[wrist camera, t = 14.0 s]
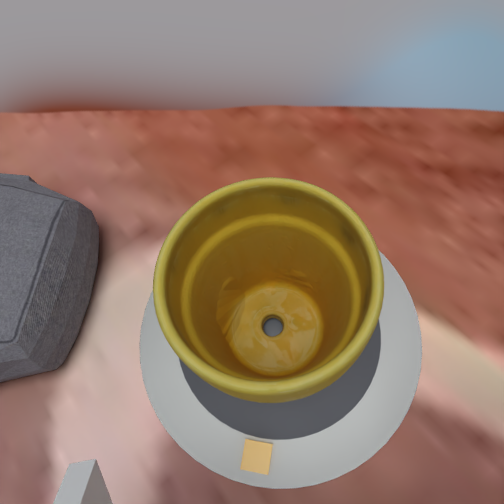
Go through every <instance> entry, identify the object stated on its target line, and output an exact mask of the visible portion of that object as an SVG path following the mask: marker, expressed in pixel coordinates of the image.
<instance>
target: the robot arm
mask: <svg viewBox="0 0 504 504" xmlns="http://www.w3.org/2000/svg"><path fill="white" fill-rule="evenodd" d="M53 504H113V503H112V501H111V498H110V495H109V492H108V490H107V487H106V484H105V482H104V479H103V476H102V474H101V471H100V468H99V466H98V463H97V460H96V459H93V460H88V461H83V462H78V463H73V464H69V467H68V469H67V472H66V474H65V476H64V479H63V481H62V484H61V486H60V488H59V491H58V493H57V496H56V498H55V500H54V503H53Z"/></svg>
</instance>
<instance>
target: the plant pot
mask: <svg viewBox="0 0 504 504" xmlns="http://www.w3.org/2000/svg"><path fill="white" fill-rule="evenodd" d="M153 298H154V306H155V312H156V316H157V319H158V322H159V325H160V328H161V330H162V332H163V334H164V336H165V338H166V340H167V341H168V343H169V345H170V346H171V348H172V349H173V351H174V352H175V353H176V354H177V356H178V357H179V358H180V359H181V360H182V361H183V362H184V363H185V365H187V366H188V367H189V368H190V369H191V370H192V371H193V372H194V373H195V374H196V375H198V376H199V377H200V378H201V379H203V380H204V381H205V382H207V383H208V384H210V385H211V386H213V387H215V388H217V389H218V390H220V391H222V392H224V393H226V394H229V395H231V396H233V397H236V398H240V399H243V400H247V401H253V402H259V403H282V402H288V401H293V400H297V399H301V398H305V397H307V396H310V395H312V394H315V393H317V392H319V391H321V390H322V389H324V388H326V387H327V386H329V385H331V384H332V383H333V382H335V381H336V380H337V379H339V378H340V377H341V376H342V375H343V374H344V373H345V372H346V371H347V370H348V369H349V368H350V367H351V366H352V365H353V364H354V362H355V361H356V360H357V359H358V357H359V356H360V354H361V353H362V352H363V350H364V348H365V347H366V345H367V343H368V342H369V340H370V338H371V336H372V334H373V332H374V330H375V327H376V325H377V322H378V320H379V316H380V313H381V309H382V304H383V298H384V272H383V266H382V262H381V257H380V254H379V251H378V248H377V245H376V243H375V241H374V239H373V237H372V235H371V233H370V231H369V230H368V228H367V227H366V225H365V224H364V222H363V221H362V220H361V219H360V217H359V216H358V215H357V214H356V213H355V212H354V211H353V210H352V209H351V208H350V207H349V206H348V205H347V204H345V203H344V202H343V201H342V200H341V199H339V198H338V197H336V196H335V195H333V194H331V193H330V192H328V191H326V190H324V189H322V188H320V187H318V186H315V185H312V184H309V183H306V182H302V181H298V180H293V179H287V178H256V179H250V180H244V181H240V182H237V183H233V184H230V185H228V186H225V187H223V188H220V189H218V190H216V191H214V192H212V193H210V194H209V195H207V196H205V197H204V198H202V199H201V200H199V201H198V202H197V203H195V204H194V205H193V206H192V207H191V208H190V209H189V210H188V211H187V212H185V213H184V214H183V216H182V217H181V218H180V219H179V220H178V221H177V223H176V224H175V225H174V226H173V228H172V229H171V231H170V232H169V234H168V236H167V238H166V239H165V241H164V243H163V246H162V248H161V250H160V253H159V256H158V259H157V262H156V266H155V272H154V280H153ZM269 318H276V319H278V320H280V321H281V323H282V325H283V329H282V332H281V333H280V334H278V335H276V336H268V335H266V334H265V332H264V330H263V326H264V323H265V321H266V320H267V319H269Z"/></svg>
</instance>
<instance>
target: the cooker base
mask: <svg viewBox="0 0 504 504" xmlns="http://www.w3.org/2000/svg"><path fill="white" fill-rule="evenodd" d="M378 251H379V250H378ZM379 254H380V257H381V262H382V266H383V272H384V298H383V304H382V309H381V313H380V316H379V320H378V322H377V325H376V327H375V330H374V332H373V334H372V336H371V338H370V340H369V342H368V343H367V345H366V347H365V348H364V350H363V352H362V353H361V354H360V356H359V357H358V359H357V360H356V361H355V362H354V364H353V365H352V366H351V367H350V368H349V369H348V370H347V371H346V372H345V373H344V374H343V375H342V376H341V377H340V378H339V379H337V380H336V381H335V382H333V383H332V384H331V385H329V386H327V387H326V388H324V389H322V390H321V391H319V392H317V393H315V394H312V395H310V396H307V397H305V398H301V399H297V400H293V401H288V402H282V403H259V402H253V401H247V400H243V399H240V398H236V397H233V396H231V395H229V394H226V393H224V392H222V391H220V390H218V389H217V388H215V387H213V386H211V385H210V384H208V383H207V382H205V381H204V380H203V379H201V378H200V377H199V376H198V375H196V374H195V373H194V372H193V371H192V370H191V369H190V368H189V367H188V366H187V365H185V363H184V362H183V361H182V360H181V359H180V358H179V357H178V356H177V354H176V353H175V352H174V351H173V349H172V348H171V346H170V345H169V343H168V341H167V340H166V338H165V336H164V334H163V332H162V330H161V328H160V325H159V322H158V319H157V316H156V312H155V306H154V298H153V291H152V293H151V295H150V298H149V301H148V303H147V306H146V309H145V313H144V317H143V322H142V326H141V335H140V364H141V370H142V376H143V381H144V384H145V388H146V391H147V394H148V397H149V400H150V402H151V404H152V406H153V408H154V410H155V413H156V415H157V417H158V418H159V420H160V421H161V423H162V424H163V426H164V427H165V429H166V430H167V432H168V433H169V434H170V435H171V437H172V438H173V439H174V440H175V441H176V442H177V444H178V445H179V446H180V447H181V448H182V449H183V450H185V451H186V452H187V453H188V454H189V455H190V456H191V457H193V458H194V459H195V460H196V461H198V462H199V463H201V464H202V465H204V466H205V467H207V468H209V469H210V470H212V471H213V472H215V473H218V474H220V475H222V476H224V477H226V478H229V479H231V480H234V481H237V482H241V483H244V484H248V485H251V486H257V487H264V488H272V489H286V488H300V487H306V486H312V485H317V484H320V483H323V482H326V481H329V480H332V479H335V478H337V477H339V476H341V475H343V474H345V473H347V472H349V471H351V470H353V469H355V468H357V467H358V466H359V465H361V464H362V463H364V462H365V461H367V460H368V459H369V458H371V457H372V456H373V455H374V454H375V453H376V452H377V451H378V450H379V449H380V448H382V447H383V446H384V445H385V444H386V443H387V441H388V440H389V439H390V438H391V436H392V435H393V434H394V432H395V431H396V430H397V429H398V427H399V426H400V424H401V422H402V421H403V419H404V417H405V415H406V413H407V412H408V410H409V408H410V405H411V402H412V400H413V397H414V395H415V392H416V389H417V384H418V380H419V376H420V370H421V359H422V343H421V331H420V326H419V321H418V316H417V313H416V310H415V307H414V304H413V301H412V298H411V296H410V294H409V292H408V290H407V288H406V285H405V283H404V282H403V280H402V279H401V277H400V276H399V274H398V272H397V271H396V269H395V268H394V267H393V265H392V264H391V263H390V262H389V261H388V259H387V258H386V257H385V256H384V255H383V254H382V253H381V252H380V251H379ZM282 329H283V325H282V323H281V321H280V320H278V319H276V318H269V319H267V320H266V321H265V323H264V326H263V330H264V332H265V334H266V335H268V336H276V335H278V334H280V333H281V332H282Z"/></svg>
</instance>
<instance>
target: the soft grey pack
mask: <svg viewBox="0 0 504 504" xmlns="http://www.w3.org/2000/svg"><path fill="white" fill-rule="evenodd" d="M98 250H99V226H98V224H97V222H96V220H95V217H94V215H93V213H92V211H91V210H89V209H88V208H86V207H85V206H84V205H82V204H81V203H80V202H78V201H75V200H73V199H71V198H68V197H66V196H64V195H62V194H59V193H57V192H55V191H52V190H50V189H48V188H45V187H43V186H41V185H38V184H37V183H36V182H35V181H34V180H33V179H31V178H30V177H29V176H24V175H13V174H2V173H0V382H3V381H8V380H12V379H16V378H20V377H25V376H29V375H33V374H38V373H42V372H46V371H51V370H55V369H57V368H58V367H59V366H60V365H61V364H62V363H63V362H64V361H65V359H66V357H67V355H68V353H69V351H70V349H71V348H72V346H73V344H74V342H75V340H76V338H77V336H78V333H79V330H80V327H81V324H82V321H83V318H84V316H85V313H86V310H87V307H88V304H89V301H90V297H91V293H92V288H93V284H94V279H95V274H96V270H97V265H98Z"/></svg>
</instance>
